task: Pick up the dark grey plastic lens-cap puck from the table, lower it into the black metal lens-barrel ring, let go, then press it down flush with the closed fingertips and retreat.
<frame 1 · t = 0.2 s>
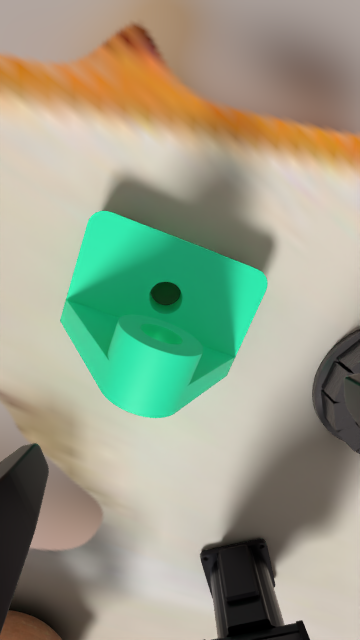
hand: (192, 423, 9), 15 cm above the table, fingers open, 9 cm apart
camera mount: (165, 289, 23), on the table
ceramic jug: (3, 634, 33), on the table
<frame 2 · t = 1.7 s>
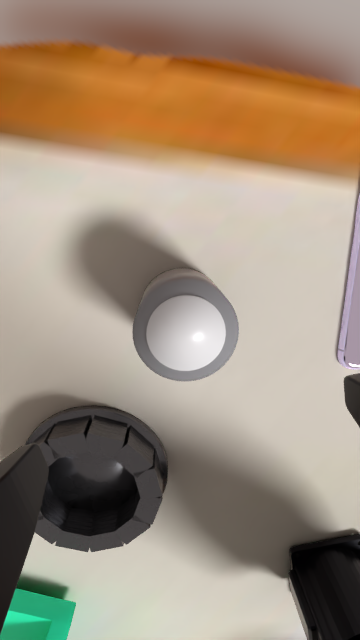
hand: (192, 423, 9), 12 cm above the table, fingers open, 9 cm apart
camera mount: (20, 619, 29), on the table
cap: (181, 308, 21), on the table
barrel: (96, 468, 24), on the table
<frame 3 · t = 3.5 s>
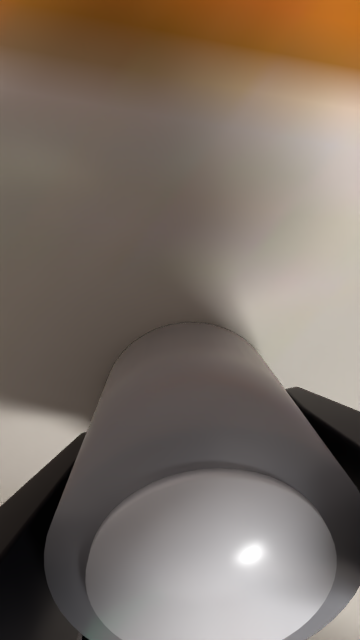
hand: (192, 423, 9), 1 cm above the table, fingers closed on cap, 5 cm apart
cap: (189, 402, 10), on the table, touching gripper
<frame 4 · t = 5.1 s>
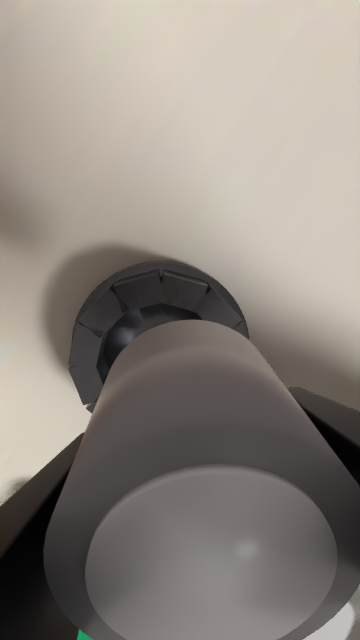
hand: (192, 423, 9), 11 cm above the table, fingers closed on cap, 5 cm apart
cap: (189, 400, 10), point 10 cm above the table, touching gripper
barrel: (161, 348, 20), on the table
when the fingers open (3 cm above the table, at t = 7.2 s): cap drops 1 cm, resting on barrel.
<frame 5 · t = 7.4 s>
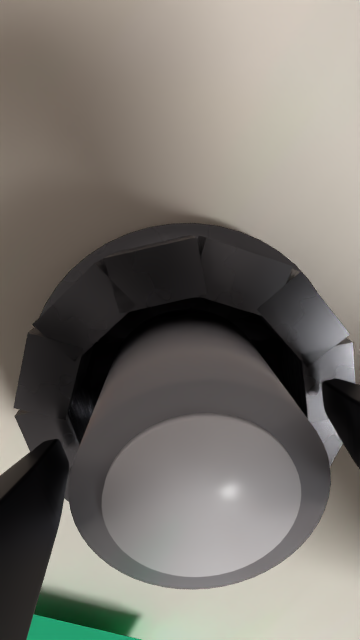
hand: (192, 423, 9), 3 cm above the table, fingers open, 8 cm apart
cap: (186, 381, 11), point 1 cm above the table, touching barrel
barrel: (185, 374, 12), on the table
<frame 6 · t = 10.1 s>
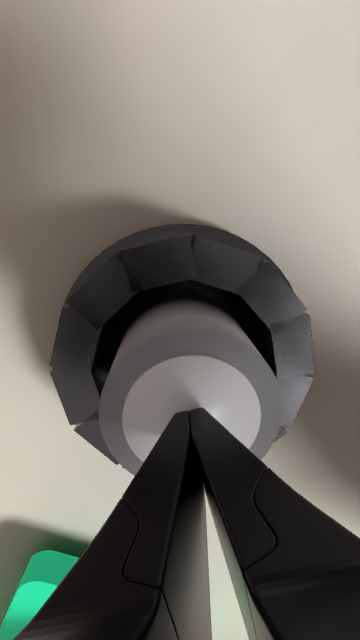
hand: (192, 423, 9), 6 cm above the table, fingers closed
camera mount: (74, 607, 20), on the table
cap: (183, 351, 14), point 1 cm above the table, touching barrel
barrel: (182, 347, 14), on the table
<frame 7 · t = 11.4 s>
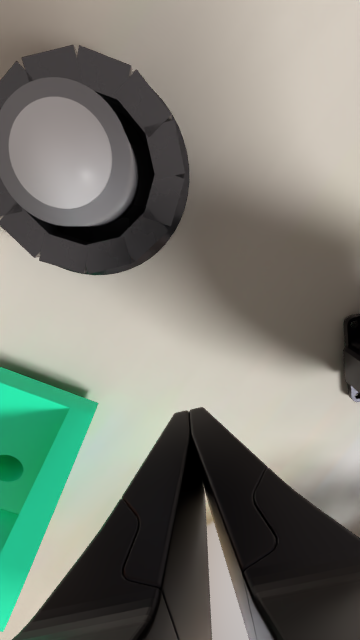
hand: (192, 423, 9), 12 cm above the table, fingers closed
camera mount: (25, 440, 23), on the table
cap: (91, 175, 17), point 1 cm above the table, touching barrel
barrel: (93, 178, 18), on the table
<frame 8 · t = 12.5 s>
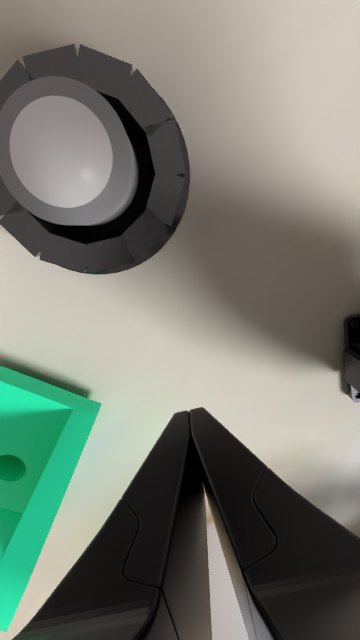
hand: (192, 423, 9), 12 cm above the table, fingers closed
camera mount: (27, 440, 23), on the table
cap: (91, 175, 17), point 1 cm above the table, touching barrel
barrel: (94, 177, 18), on the table
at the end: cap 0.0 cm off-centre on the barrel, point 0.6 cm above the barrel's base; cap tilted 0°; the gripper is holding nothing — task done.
